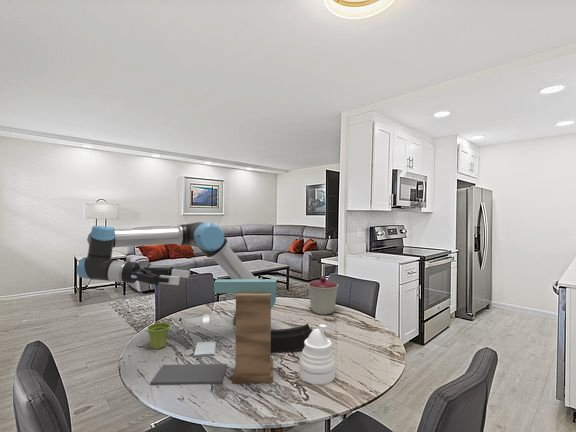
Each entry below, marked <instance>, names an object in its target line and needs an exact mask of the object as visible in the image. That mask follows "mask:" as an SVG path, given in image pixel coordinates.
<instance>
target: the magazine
mask: <svg viewBox="0 0 576 432" xmlns="http://www.w3.org/2000/svg"><path fill="white" fill-rule="evenodd" d="M313 330H314V329H313V327H312V326H310V325H309V323H305V325H299V326H295V327H290V328H289V327H288V328H283V329H282V328H281V329H280V328H279V329H271V354H279V353H280V354H282V353H291V352H296V351H301V350H302V351H303V349H304V346H305V344H304V341H305V340H306V339H307V338H308V337H309V335H310V334H311V332H312V331H313Z"/></svg>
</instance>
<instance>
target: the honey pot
mask: <svg viewBox="0 0 576 432" xmlns="http://www.w3.org/2000/svg"><path fill="white" fill-rule="evenodd" d="M326 329H327V325H326V324H319V328H314V329H313V331H312V332H311V334H310V335H309V337H308V338H307V339H306V340H305V341H304V344H305V346H304V349H302V352H301V356H300V357H299V377H300V379H302V380H303V381H305V382H306V383H309V384H311V385H320V386H321V385H326V384H329V383H332V382H333V381H334V380H335V378H336V359H335V357H334V354H333V351H332V349H331V347H332V346H333V343H332V341H331V340H330V339H329V338H328V337H326V335H325V333H324V332H325V331H326Z"/></svg>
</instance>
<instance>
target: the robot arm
mask: <svg viewBox="0 0 576 432" xmlns="http://www.w3.org/2000/svg"><path fill="white" fill-rule="evenodd" d="M86 239H87V243H88V251H87V256H85V257H82V258H80V260H79V261H78V264H77V266H76V274H77V276H78V277H79V278H82V279H88V280H92V281H93V280H94V281H95V280H96V281H106V282H107V281H109V282H116V283H127V284H134V283H136V282H142V283H144V284H150V285H154V286H159V284H163V285H173V286H179V285H180V281H181V280H180V278H183V279H184V278H185V279H189V277H190V270H185V269H184V270H183V269H177V268H176V269H175V268H174V267H173V266H170V267H149V266H146V267H145V266H144V267H143V268H141V266H140V263H139V262H136V261H123V260H121V259H119V258H117V259H116V260H115V259H112V254H113V248H125V247H142V246H157V245H173V244H174V245H175V244H176V245H178V246H189V247H195V248H198V249H199V250H200V251H201V252H202V254H204V256H205V257H207V258H208V259H209V258H210V259H211V258H212V259H213V261H215V262H216V263H217V264H218V265H219V267H220V268H221V269H222V270H223V271H224V273H226V274H227V275H228V277H229V278H230V279H260V278H259V277H258V278H256V276H255V275H254V274H253V273H252V272H251V271H250V270H249V268H247V266H246V265H245V264H244V263H243V262H242V260H241V259H240V258H239V257H238V256H237V254H235V252H234V251H233V250H232V249H231V248H230V247H229V246H228V243H229V242H228V239H227V237H225V233H224V230H223V229H222V227H220V226H219V224H218V225H217V224H215V223H213V222H202V221H199V222H198V221H197V222H191V223H186V224H185V223H184V224H177V225H176V226H165V227H164V226H162V227H139V228H115V227H113V226H107V225H106V226H104V225H93V226H92V227H91V231H90V233H89V234H88V235H87V238H86ZM276 293H277V292H276ZM276 293H271V309H273V307H274V306H275V304H276V299H277V294H276ZM232 324H233V325H234V326H236V311H235V312H234V316H233V318H232Z"/></svg>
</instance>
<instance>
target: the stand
mask: <svg viewBox="0 0 576 432" xmlns="http://www.w3.org/2000/svg"><path fill="white" fill-rule="evenodd" d="M235 312H236V325H235V351H234V352H235V353H234V354H235V366H234V369H233V374H232V376H231V384H268V383H269V384H273V383H274V360H273V359H272V358H271V354H272V353H271V330H272V329H271V328H272V327H271V326H272V325H271V324H272V308H271V293H235Z"/></svg>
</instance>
